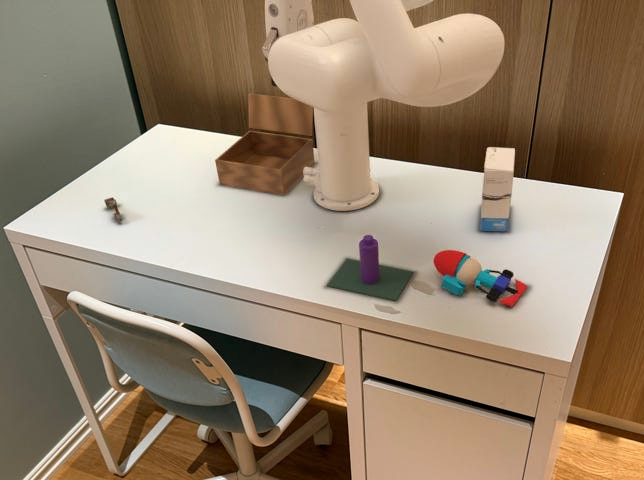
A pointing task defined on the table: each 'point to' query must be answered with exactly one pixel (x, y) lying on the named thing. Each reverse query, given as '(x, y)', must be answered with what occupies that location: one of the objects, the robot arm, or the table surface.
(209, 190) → the table surface
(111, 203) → the wooden post with brackets
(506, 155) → the ink box
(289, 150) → the brown wooden open box
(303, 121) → the wooden box lid
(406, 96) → the robot arm
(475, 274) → the toy figure
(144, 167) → the table surface
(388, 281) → the drawing mat
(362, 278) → the purple bottle
